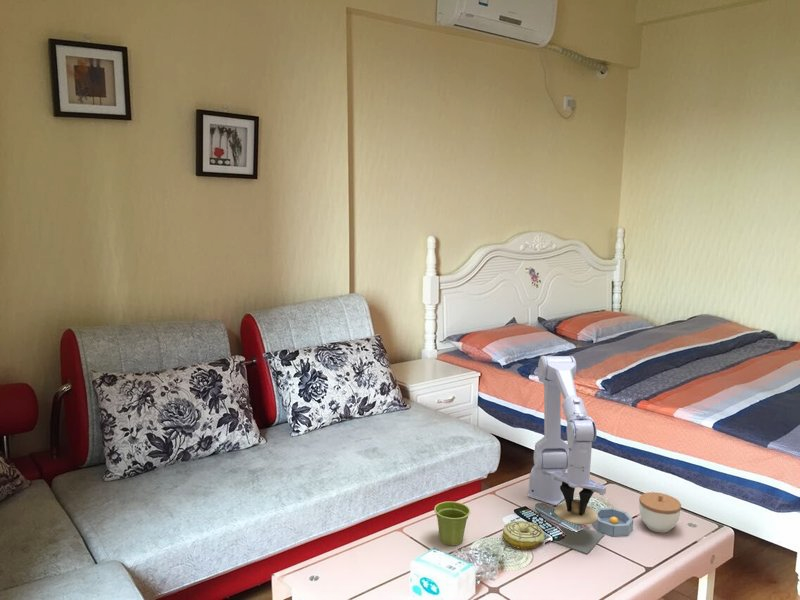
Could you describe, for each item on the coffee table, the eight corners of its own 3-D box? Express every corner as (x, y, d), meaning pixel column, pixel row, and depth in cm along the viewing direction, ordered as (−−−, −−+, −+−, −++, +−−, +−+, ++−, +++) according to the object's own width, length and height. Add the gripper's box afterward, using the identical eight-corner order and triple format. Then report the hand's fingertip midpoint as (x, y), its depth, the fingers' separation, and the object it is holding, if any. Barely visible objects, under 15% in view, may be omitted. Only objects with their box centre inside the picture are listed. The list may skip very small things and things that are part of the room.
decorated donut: (551, 546, 171) (552, 533, 170) (517, 555, 166) (518, 541, 166) (528, 527, 180) (529, 514, 179) (495, 535, 176) (496, 522, 175)
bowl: (587, 527, 180) (588, 517, 179) (601, 514, 188) (601, 503, 187) (623, 540, 174) (624, 529, 173) (636, 525, 182) (637, 514, 181)
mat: (543, 538, 174) (543, 537, 174) (562, 521, 183) (562, 519, 183) (587, 554, 167) (587, 553, 167) (604, 535, 176) (604, 534, 176)
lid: (547, 514, 174) (548, 501, 173) (567, 501, 182) (567, 488, 181) (586, 528, 166) (587, 515, 166) (604, 514, 175) (605, 501, 174)
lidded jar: (671, 518, 186) (674, 487, 184) (684, 538, 175) (687, 506, 174) (633, 516, 187) (635, 485, 185) (643, 535, 176) (645, 503, 175)
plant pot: (443, 527, 179) (444, 497, 178) (474, 536, 174) (475, 506, 173) (427, 543, 171) (428, 512, 170) (460, 553, 166) (461, 522, 165)
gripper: (547, 461, 173) (544, 509, 175) (600, 476, 164) (596, 526, 166) (558, 453, 178) (555, 499, 180) (610, 467, 169) (606, 516, 172)
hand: (575, 511), depth 174 cm, fingers closed on lid, 3 cm apart
